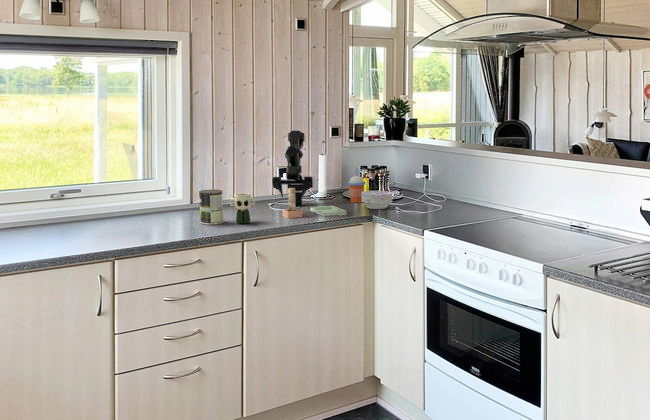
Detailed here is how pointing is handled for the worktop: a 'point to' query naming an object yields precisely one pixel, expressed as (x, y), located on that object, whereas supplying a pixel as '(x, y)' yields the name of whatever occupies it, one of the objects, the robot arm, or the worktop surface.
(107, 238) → the worktop surface
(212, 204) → the coffee can
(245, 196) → the character mug
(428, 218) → the worktop surface
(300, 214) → the peach square box
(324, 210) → the sage tray
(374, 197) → the paper bowls
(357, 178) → the cup with straw
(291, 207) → the dowel
